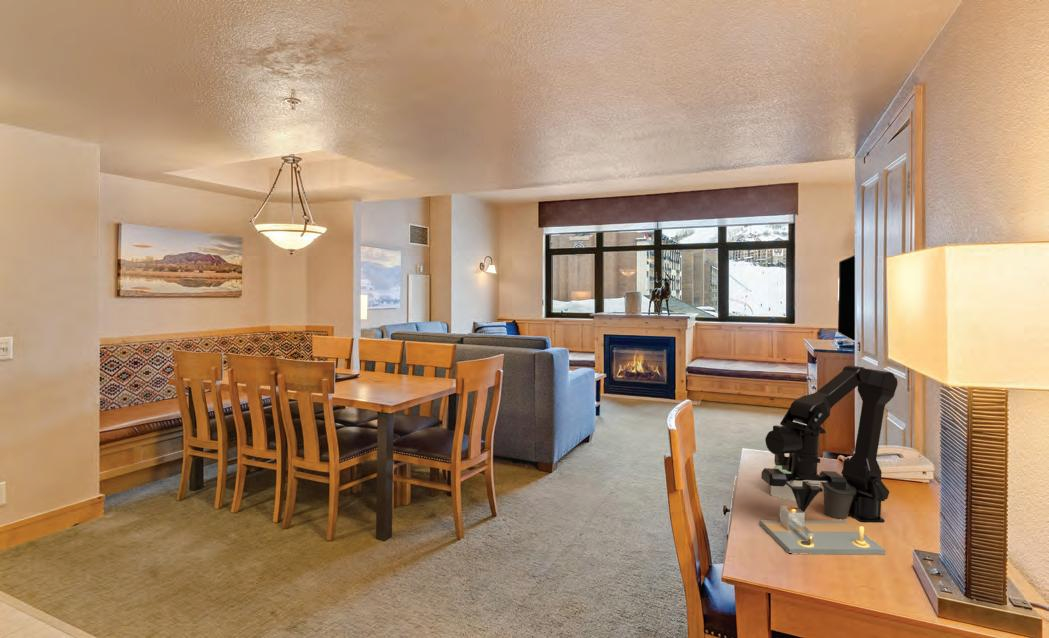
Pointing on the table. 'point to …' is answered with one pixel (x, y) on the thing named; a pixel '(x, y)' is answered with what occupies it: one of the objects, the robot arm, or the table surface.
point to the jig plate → (824, 538)
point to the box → (782, 488)
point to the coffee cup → (837, 501)
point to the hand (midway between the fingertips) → (801, 512)
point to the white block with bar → (794, 520)
